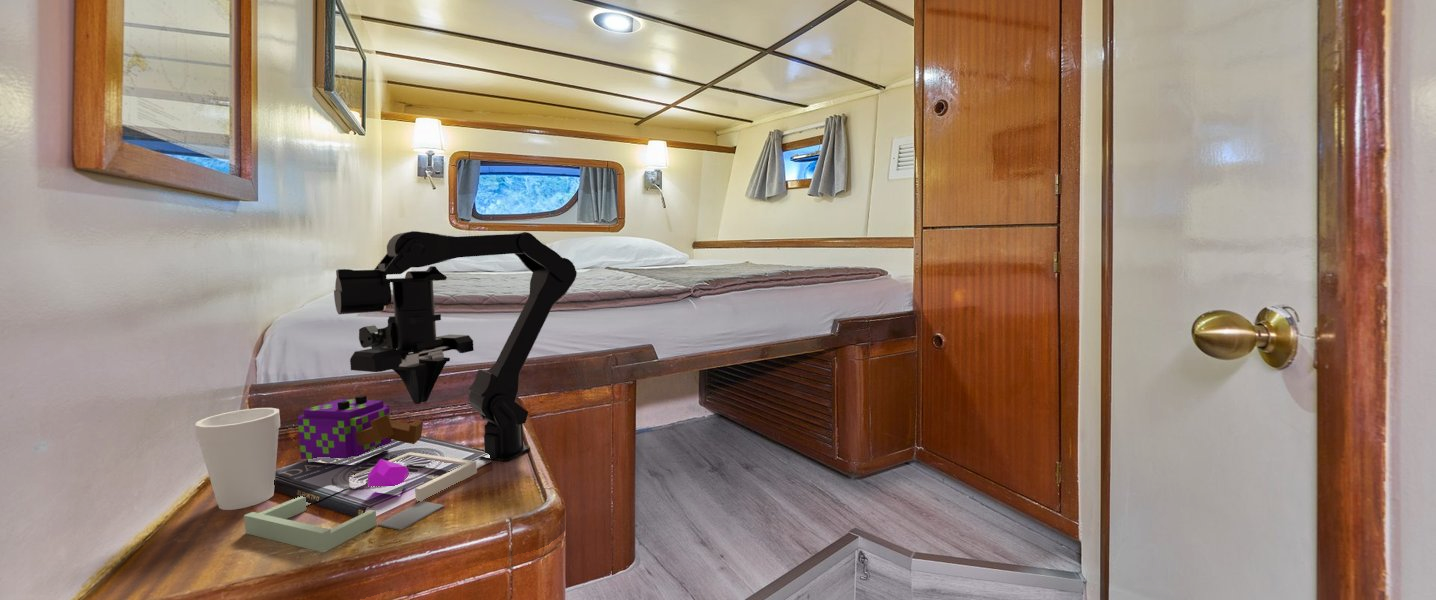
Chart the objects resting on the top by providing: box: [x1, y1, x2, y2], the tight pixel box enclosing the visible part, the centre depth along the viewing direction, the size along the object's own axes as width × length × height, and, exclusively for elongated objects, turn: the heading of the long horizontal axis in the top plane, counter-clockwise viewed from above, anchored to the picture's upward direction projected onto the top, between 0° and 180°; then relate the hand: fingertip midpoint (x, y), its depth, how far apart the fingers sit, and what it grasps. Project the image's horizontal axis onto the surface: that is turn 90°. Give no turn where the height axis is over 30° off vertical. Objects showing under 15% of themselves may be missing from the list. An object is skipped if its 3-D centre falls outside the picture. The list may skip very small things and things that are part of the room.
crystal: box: [366, 458, 411, 488], centre depth 82 cm, size 5×5×5 cm
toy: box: [297, 395, 424, 460], centre depth 96 cm, size 10×11×20 cm
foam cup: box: [194, 407, 281, 511], centre depth 79 cm, size 10×9×13 cm
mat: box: [377, 500, 445, 531], centre depth 74 cm, size 7×4×1 cm, turn 161°
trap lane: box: [243, 451, 478, 553], centre depth 79 cm, size 25×15×2 cm, turn 161°
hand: (420, 402), depth 87 cm, fingers closed
